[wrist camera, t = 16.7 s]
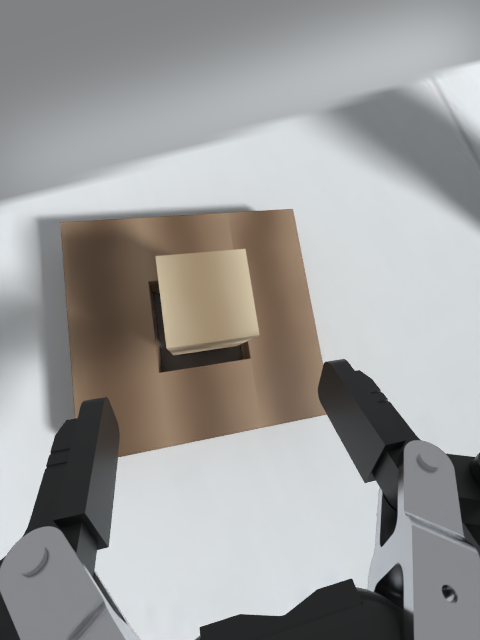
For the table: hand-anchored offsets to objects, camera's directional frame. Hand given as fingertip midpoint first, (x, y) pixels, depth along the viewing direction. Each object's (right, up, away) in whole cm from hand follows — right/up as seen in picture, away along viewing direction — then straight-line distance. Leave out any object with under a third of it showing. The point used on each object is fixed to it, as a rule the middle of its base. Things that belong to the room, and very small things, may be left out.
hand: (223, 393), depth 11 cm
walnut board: (-3, +2, +11) cm, 12 cm away
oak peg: (-2, +2, +12) cm, 12 cm away
